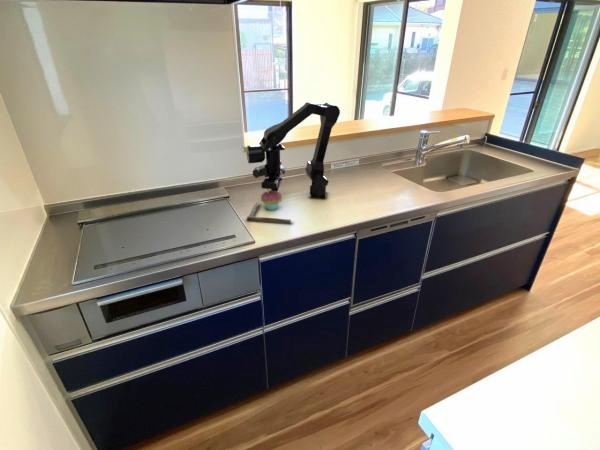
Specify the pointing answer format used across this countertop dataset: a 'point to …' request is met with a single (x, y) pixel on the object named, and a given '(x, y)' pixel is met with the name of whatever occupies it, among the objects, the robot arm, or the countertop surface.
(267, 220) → the corner guide
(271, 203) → the cupcake
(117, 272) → the countertop surface
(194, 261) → the countertop surface
